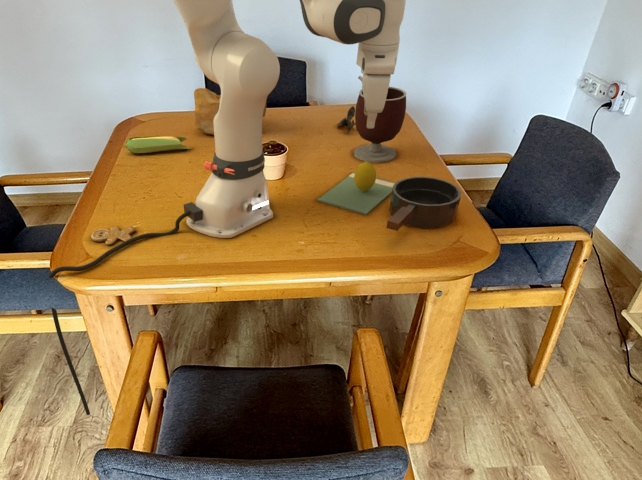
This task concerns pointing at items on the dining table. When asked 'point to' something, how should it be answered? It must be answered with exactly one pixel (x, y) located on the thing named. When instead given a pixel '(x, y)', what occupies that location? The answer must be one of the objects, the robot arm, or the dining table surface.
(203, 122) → the rough brown rock
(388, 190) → the tea towel
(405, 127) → the dining table surface
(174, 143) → the edible corn
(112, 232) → the cookie
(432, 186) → the pan
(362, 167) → the lemon
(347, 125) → the eagle figurine
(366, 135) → the mate gourd
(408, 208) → the pan handle
